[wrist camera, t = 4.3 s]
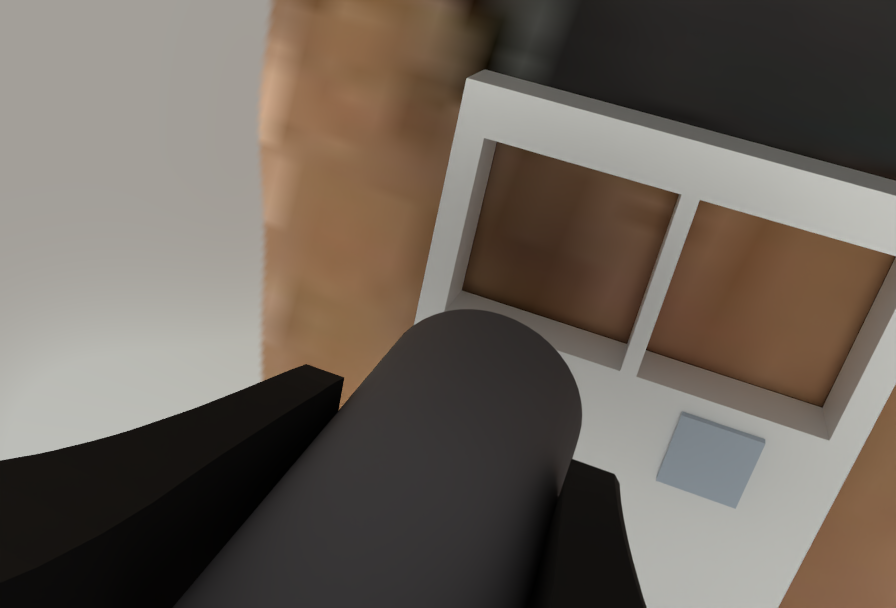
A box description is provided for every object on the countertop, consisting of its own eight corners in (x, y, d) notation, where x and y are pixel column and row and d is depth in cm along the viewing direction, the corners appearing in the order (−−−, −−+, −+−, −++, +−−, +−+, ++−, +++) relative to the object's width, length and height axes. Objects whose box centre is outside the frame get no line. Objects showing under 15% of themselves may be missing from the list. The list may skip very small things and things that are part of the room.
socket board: (734, 647, 24) (734, 695, 23) (386, 513, 26) (364, 549, 25) (962, 198, 18) (984, 222, 16) (485, 69, 20) (464, 78, 18)
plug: (552, 519, 14) (416, 960, 8) (368, 452, 15) (110, 813, 9) (608, 348, 13) (493, 728, 6) (400, 282, 13) (115, 571, 7)
